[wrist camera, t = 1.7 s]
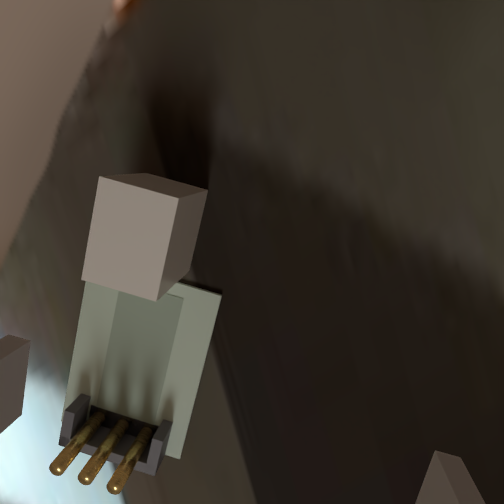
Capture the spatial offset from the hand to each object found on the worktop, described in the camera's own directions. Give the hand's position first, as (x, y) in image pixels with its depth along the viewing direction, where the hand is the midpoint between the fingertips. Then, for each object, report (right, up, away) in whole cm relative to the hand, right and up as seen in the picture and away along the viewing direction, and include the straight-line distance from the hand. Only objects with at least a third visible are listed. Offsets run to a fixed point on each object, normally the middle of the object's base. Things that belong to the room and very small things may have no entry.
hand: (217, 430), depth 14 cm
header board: (-8, -3, +19) cm, 21 cm away
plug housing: (-5, +8, +17) cm, 19 cm away
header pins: (-9, -8, +21) cm, 24 cm away
